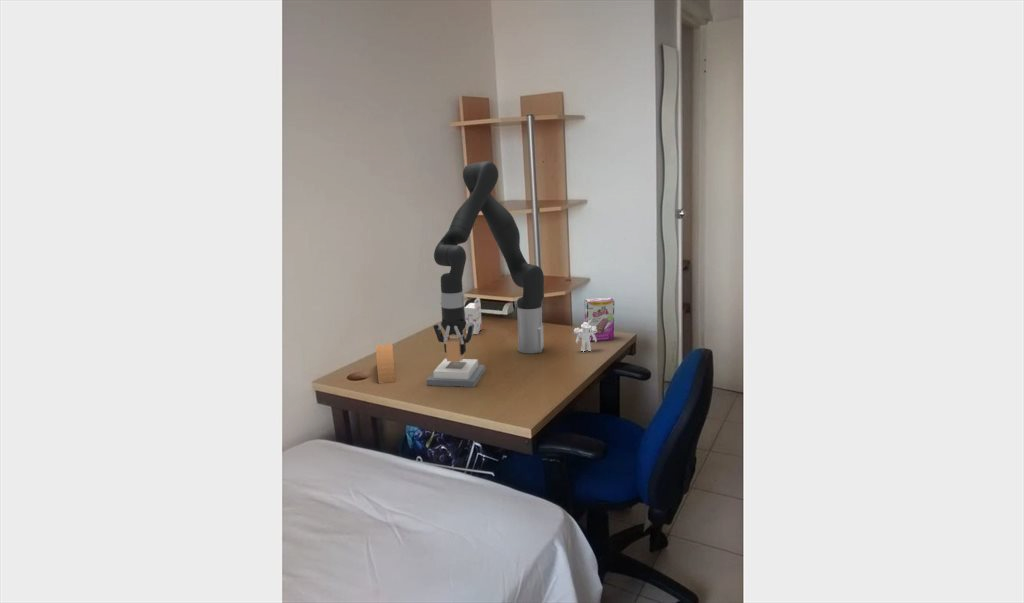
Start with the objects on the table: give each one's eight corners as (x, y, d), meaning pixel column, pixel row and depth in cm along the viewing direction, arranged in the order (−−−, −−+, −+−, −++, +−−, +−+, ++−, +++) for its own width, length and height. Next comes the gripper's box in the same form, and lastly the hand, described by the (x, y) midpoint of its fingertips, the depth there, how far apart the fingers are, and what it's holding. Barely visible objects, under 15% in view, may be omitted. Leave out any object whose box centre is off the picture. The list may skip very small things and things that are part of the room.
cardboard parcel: (464, 359, 218) (463, 336, 216) (459, 364, 213) (458, 341, 211) (451, 358, 219) (450, 336, 217) (447, 364, 214) (445, 341, 212)
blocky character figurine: (595, 348, 243) (595, 317, 241) (599, 351, 240) (598, 320, 237) (572, 350, 242) (572, 320, 239) (576, 353, 238) (575, 322, 235)
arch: (394, 363, 235) (392, 337, 232) (395, 382, 216) (393, 354, 213) (378, 364, 234) (376, 338, 231) (377, 384, 215) (375, 355, 212)
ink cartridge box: (470, 329, 275) (469, 295, 271) (482, 329, 274) (480, 295, 270) (465, 334, 267) (463, 300, 263) (477, 335, 266) (475, 300, 262)
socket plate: (485, 370, 223) (484, 358, 222) (473, 387, 208) (473, 374, 207) (441, 368, 227) (440, 356, 226) (426, 385, 211) (426, 372, 210)
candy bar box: (587, 342, 251) (586, 301, 247) (583, 338, 256) (583, 298, 252) (614, 340, 252) (614, 299, 249) (611, 336, 257) (611, 297, 253)
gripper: (476, 302, 214) (478, 351, 218) (435, 301, 216) (438, 349, 220) (470, 307, 206) (473, 358, 210) (428, 307, 209) (431, 356, 213)
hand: (455, 353), depth 215 cm, fingers closed on cardboard parcel, 4 cm apart
